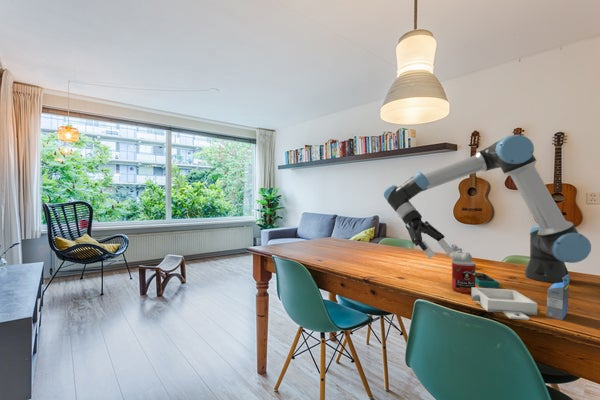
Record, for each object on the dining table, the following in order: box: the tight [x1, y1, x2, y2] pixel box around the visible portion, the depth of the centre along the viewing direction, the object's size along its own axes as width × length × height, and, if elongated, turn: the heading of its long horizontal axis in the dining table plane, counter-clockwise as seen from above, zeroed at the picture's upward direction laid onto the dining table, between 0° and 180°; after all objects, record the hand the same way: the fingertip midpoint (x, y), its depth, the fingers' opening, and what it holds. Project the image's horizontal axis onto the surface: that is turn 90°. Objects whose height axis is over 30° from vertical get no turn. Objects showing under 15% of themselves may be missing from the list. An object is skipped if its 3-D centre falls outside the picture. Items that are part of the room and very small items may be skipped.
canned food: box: [451, 260, 476, 295], centre depth 111 cm, size 8×8×11 cm
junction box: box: [470, 286, 538, 321], centre depth 96 cm, size 17×22×4 cm
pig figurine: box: [449, 243, 473, 266], centre depth 154 cm, size 5×13×11 cm, turn 28°
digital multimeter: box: [475, 271, 500, 289], centre depth 123 cm, size 7×15×3 cm, turn 167°
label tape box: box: [545, 273, 570, 321], centre depth 89 cm, size 9×4×12 cm, turn 131°
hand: (441, 254), depth 118 cm, fingers open, 13 cm apart
